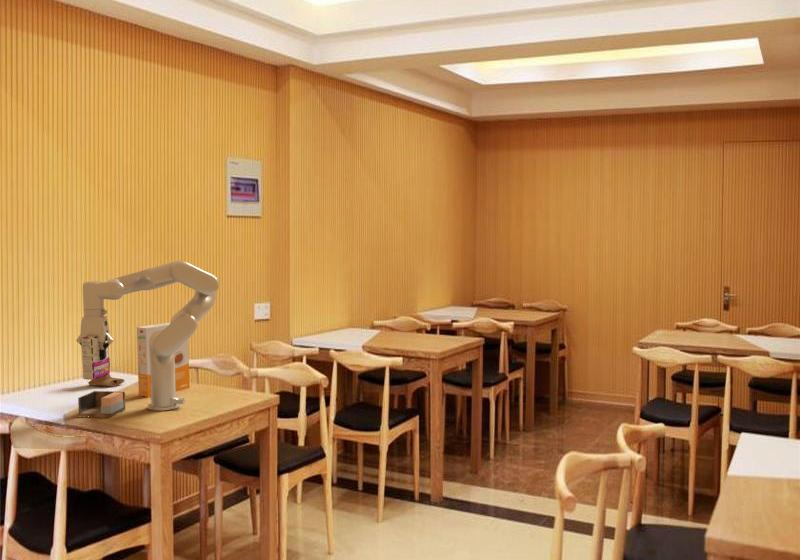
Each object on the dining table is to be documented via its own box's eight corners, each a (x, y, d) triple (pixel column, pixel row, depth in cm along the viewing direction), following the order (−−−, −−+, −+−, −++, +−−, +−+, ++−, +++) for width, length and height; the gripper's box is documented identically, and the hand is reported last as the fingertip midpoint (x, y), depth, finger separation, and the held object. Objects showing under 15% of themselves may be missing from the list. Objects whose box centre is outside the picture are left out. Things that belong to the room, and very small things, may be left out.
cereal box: (180, 386, 351) (178, 321, 349) (189, 388, 347) (187, 322, 345) (138, 395, 332) (136, 327, 330) (148, 397, 329) (146, 328, 327)
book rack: (125, 410, 307) (124, 391, 306) (110, 417, 294) (109, 398, 294) (94, 409, 308) (94, 391, 308) (78, 417, 296) (77, 398, 295)
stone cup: (81, 386, 352) (80, 354, 351) (101, 381, 362) (100, 350, 361) (105, 389, 345) (104, 356, 344) (125, 384, 356) (124, 352, 355)
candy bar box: (98, 373, 306) (97, 333, 304) (110, 374, 305) (108, 333, 303) (81, 379, 295) (80, 337, 293) (93, 379, 294) (92, 337, 292)
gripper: (119, 312, 300) (121, 358, 302) (78, 311, 303) (80, 357, 304) (110, 314, 293) (111, 361, 294) (68, 314, 295) (69, 360, 296)
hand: (95, 358), depth 299 cm, fingers closed on candy bar box, 5 cm apart
